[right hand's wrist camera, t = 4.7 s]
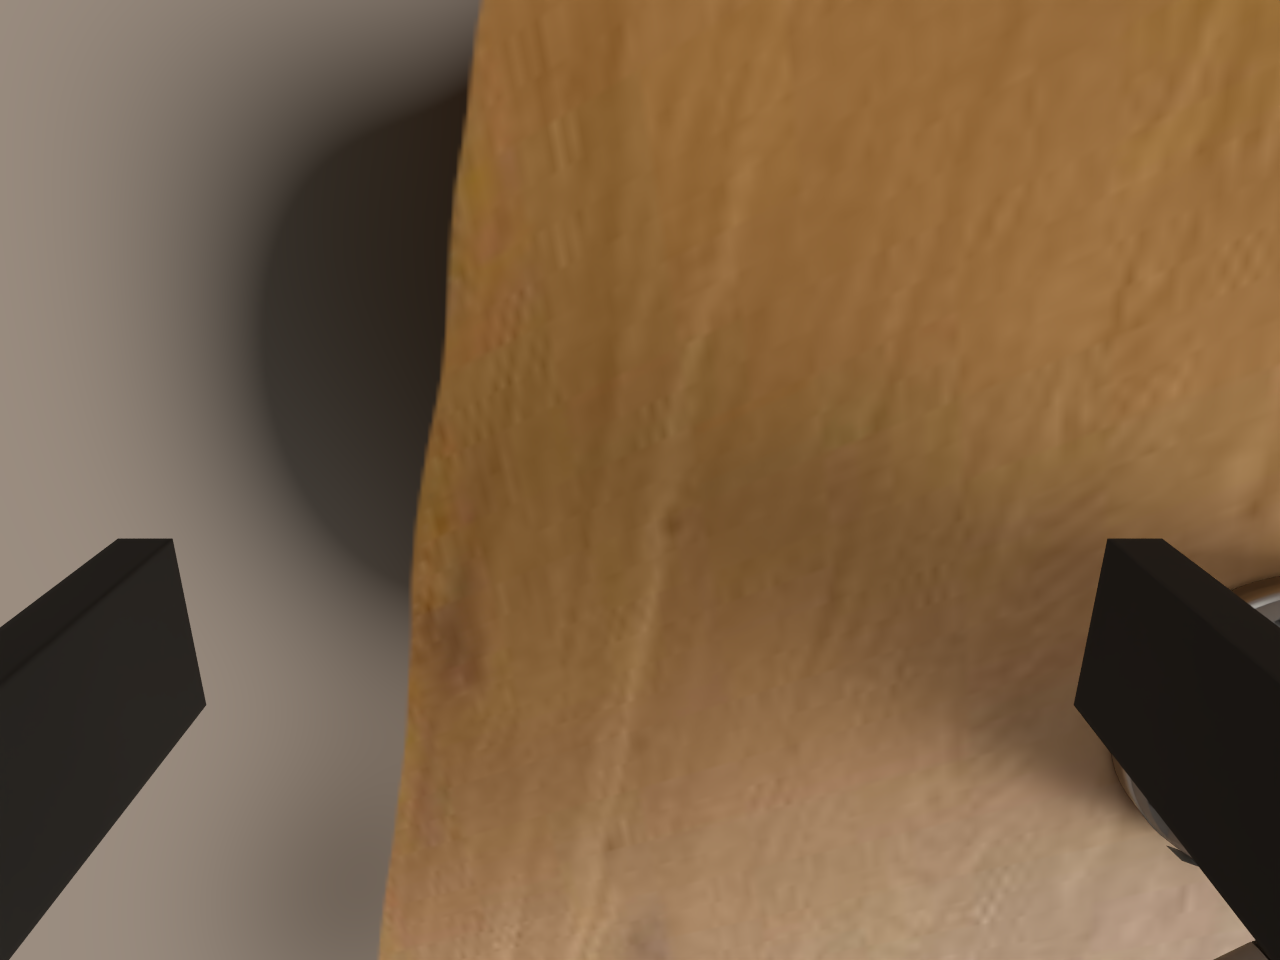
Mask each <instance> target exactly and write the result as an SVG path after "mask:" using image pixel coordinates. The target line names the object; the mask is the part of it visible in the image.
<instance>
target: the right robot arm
mask: <svg viewBox="0 0 1280 960" xmlns="http://www.w3.org/2000/svg"><path fill="white" fill-rule="evenodd" d="M205 706H206V702H205V697H204V692H203V687H202V682H201V677H200V672H199V667H198V662H197V657H196V652H195V647H194V642H193V637H192V633H191V628H190V623H189V618H188V613H187V608H186V603H185V598H184V593H183V588H182V583H181V578H180V573H179V568H178V563H177V558H176V553H175V549H174V544H173V539H117V540H116V541H114V542H113V543H112V544H110V545H109V546H108V547H106V548H105V549H104V550H102V551H101V552H100V553H98V554H97V555H96V556H94V557H93V558H92V559H90V560H89V561H88V562H86V563H85V564H84V565H82V566H81V567H80V568H78V569H77V570H76V571H74V572H73V573H72V574H70V575H69V576H68V577H66V578H65V579H64V580H63V581H61V582H60V583H59V584H57V585H56V586H55V587H53V588H52V589H51V590H49V591H48V592H47V593H45V594H44V595H43V596H41V597H40V598H39V599H37V600H36V601H35V602H33V603H32V604H31V605H29V606H28V607H27V608H25V609H24V610H23V611H21V612H20V613H19V614H17V615H16V616H15V617H14V618H12V619H11V620H10V621H8V622H7V623H6V624H4V625H3V626H2V627H0V960H9V959H10V958H11V957H12V955H13V954H14V953H15V951H16V950H17V949H18V947H19V946H20V945H21V944H22V942H23V941H24V940H25V938H26V937H27V936H28V934H29V933H30V932H31V931H32V929H33V928H34V927H35V925H36V924H37V923H38V922H39V920H40V919H41V918H42V916H43V915H44V914H45V912H46V911H47V910H48V909H49V907H50V906H51V905H52V903H53V902H54V901H55V900H56V898H57V897H58V896H59V894H60V893H61V892H62V891H63V889H64V888H65V887H66V885H67V884H68V883H69V882H70V880H71V879H72V878H73V876H74V875H75V874H76V873H77V871H78V870H79V869H80V867H81V866H82V865H83V863H84V862H85V861H86V860H87V858H88V857H89V856H90V854H91V853H92V852H93V851H94V849H95V848H96V847H97V845H98V844H99V843H100V842H101V840H102V839H103V838H104V836H105V835H106V834H107V832H108V831H109V830H110V829H111V827H112V826H113V825H114V823H115V822H116V821H117V820H118V818H119V817H120V816H121V814H122V813H123V812H124V810H125V809H126V808H127V807H128V805H129V804H130V803H131V801H132V800H133V799H134V798H135V796H136V795H137V794H138V792H139V791H140V790H141V789H142V787H143V786H144V785H145V783H146V782H147V781H148V780H149V778H150V777H151V776H152V774H153V773H154V772H155V770H156V769H157V768H158V767H159V765H160V764H161V763H162V761H163V760H164V759H165V758H166V756H167V755H168V754H169V752H170V751H171V750H172V748H173V747H174V746H175V745H176V743H177V742H178V741H179V739H180V738H181V737H182V736H183V734H184V733H185V732H186V730H187V729H188V728H189V727H190V725H191V724H192V723H193V721H194V720H195V719H196V718H197V716H198V715H199V714H200V712H201V711H202V710H203V708H204V707H205ZM1074 706H1075V707H1076V708H1077V710H1078V711H1079V712H1080V714H1081V715H1082V716H1083V718H1084V719H1085V720H1086V721H1087V723H1088V724H1089V725H1090V727H1091V728H1092V729H1093V730H1094V732H1095V733H1096V734H1097V736H1098V737H1099V738H1100V739H1101V741H1102V742H1103V743H1104V745H1105V746H1106V747H1107V749H1108V750H1109V751H1110V752H1111V754H1112V760H1113V763H1114V767H1115V771H1116V774H1117V776H1118V778H1119V781H1120V783H1121V785H1122V786H1123V788H1124V790H1125V792H1126V793H1127V795H1128V796H1129V797H1130V799H1131V800H1132V801H1133V803H1134V804H1135V805H1136V807H1137V808H1138V809H1139V811H1140V812H1141V813H1142V815H1143V816H1144V817H1145V819H1146V820H1147V821H1148V822H1149V824H1150V825H1151V826H1152V827H1153V828H1154V829H1155V830H1156V831H1157V832H1158V833H1159V834H1160V835H1161V836H1163V837H1164V838H1165V839H1166V840H1168V841H1169V842H1170V843H1172V844H1173V845H1174V846H1175V847H1177V848H1178V849H1179V850H1178V849H1175V848H1172V847H1169V846H1167V845H1166V846H1167V847H1168V848H1169V849H1170V850H1171V851H1172V852H1174V853H1175V854H1176V855H1177V856H1178V857H1179V858H1180V859H1181V860H1182V861H1184V862H1187V863H1190V864H1193V865H1196V866H1199V867H1200V869H1201V870H1202V871H1203V873H1204V874H1205V875H1206V876H1207V878H1208V879H1209V880H1210V882H1211V883H1212V884H1213V885H1214V887H1215V888H1216V889H1217V891H1218V892H1219V893H1220V895H1221V896H1222V897H1223V898H1224V900H1225V901H1226V902H1227V904H1228V905H1229V906H1230V907H1231V909H1232V910H1233V911H1234V913H1235V914H1236V915H1237V916H1238V918H1239V919H1240V920H1241V922H1242V923H1243V924H1244V926H1245V927H1246V928H1247V929H1248V931H1249V932H1250V933H1251V935H1252V936H1253V937H1254V938H1255V941H1252V942H1249V943H1247V944H1245V945H1243V946H1241V947H1239V948H1237V949H1235V950H1233V951H1231V952H1229V953H1227V954H1224V955H1222V956H1220V957H1218V958H1216V959H1214V960H1280V576H1278V577H1273V578H1269V579H1265V580H1261V581H1257V582H1254V583H1251V584H1248V585H1244V586H1241V587H1239V588H1236V589H1234V590H1232V591H1231V590H1229V589H1228V588H1227V587H1225V586H1224V585H1223V584H1221V583H1220V582H1219V581H1217V580H1216V579H1215V578H1214V577H1212V576H1211V575H1210V574H1208V573H1207V572H1206V571H1204V570H1203V569H1202V568H1200V567H1199V566H1198V565H1196V564H1195V563H1194V562H1192V561H1191V560H1190V559H1188V558H1187V557H1186V556H1184V555H1183V554H1182V553H1180V552H1179V551H1178V550H1176V549H1175V548H1174V547H1172V546H1171V545H1170V544H1168V543H1167V542H1166V541H1164V540H1163V539H1107V544H1106V549H1105V553H1104V558H1103V563H1102V568H1101V573H1100V578H1099V583H1098V588H1097V593H1096V598H1095V603H1094V608H1093V613H1092V618H1091V623H1090V628H1089V632H1088V637H1087V642H1086V647H1085V652H1084V657H1083V662H1082V667H1081V672H1080V677H1079V682H1078V687H1077V692H1076V697H1075V702H1074Z"/></svg>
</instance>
